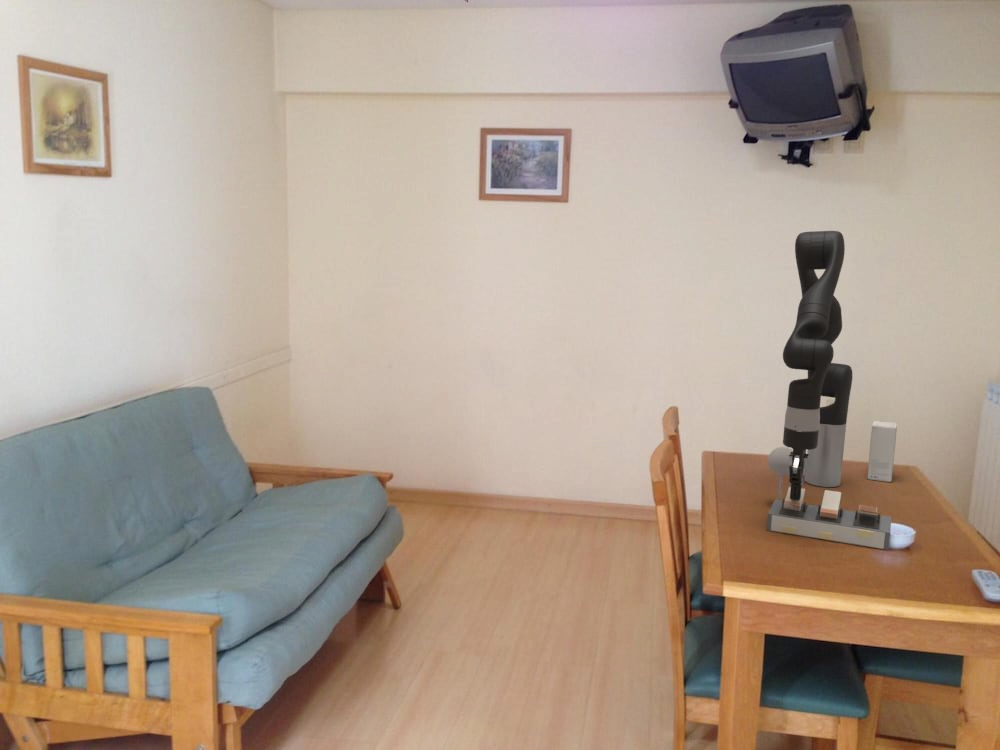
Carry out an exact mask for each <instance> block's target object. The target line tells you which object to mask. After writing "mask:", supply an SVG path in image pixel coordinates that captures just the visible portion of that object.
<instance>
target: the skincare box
mask: <svg viewBox="0 0 1000 750" xmlns="http://www.w3.org/2000/svg"><path fill="white" fill-rule="evenodd" d="M897 428H898V423H897V422H892V421H891V422H889V421H888V422H887V421H878V420H877V421H876V420H873V422H872V426H871V432H870V443H869V453H868V467H867V469H868V470H867V479H868V480H870V481H871V480H872V481H878V482H886V483H892V479H893V472H894V471H893V470H894V463H895V452H896V441H897V433H898V432H897V431H898V430H897Z"/></svg>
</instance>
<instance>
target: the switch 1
mask: <svg viewBox="0 0 1000 750" xmlns="http://www.w3.org/2000/svg"><path fill="white" fill-rule="evenodd" d="M790 491H791V486H789V487H788V490H787V493H786V495H785V502H784V508H785V509H792V510H798V511H800V509H801V505H802V504H803V503H804V499H805V495H806V488H802V487H801V498H800V500H791V499H790Z"/></svg>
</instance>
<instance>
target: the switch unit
mask: <svg viewBox="0 0 1000 750" xmlns="http://www.w3.org/2000/svg"><path fill="white" fill-rule="evenodd" d="M785 499H786V498H785ZM785 499H781V500H778V499H774V501H773V503H772V504H771V507H770V509H769V511H768V513H767V518H766V531H769V532H776V533H781V534H788V535H793V536H794V535H795V536H798V537H799V536H800V537H805V538H811V539H818V540H824V541H831V542H834V543H835V542H836V543H842V544H849V545H853V546H854V545H855V546H859V547H860V546H861V547H867V548H872V549H873V548H874V549H879V550H884V551H889V547H890V539H891V538H890V536H891V529H892V516H889V515H888V516H887V515H881V513H878V514H876V513H869V512H862V511H859V509H858V510H855V511H853V510H848V509H847V510H846V509H843V507H839V510H838V515H837V519H836V518H830V517H823V516H820V511H821V506H822V504H818V505H814V504H807V502H805V501H803V503H802V505H801V509H800V511H798V510H792V509H785V508H784V502H785Z"/></svg>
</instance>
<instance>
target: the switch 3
mask: <svg viewBox="0 0 1000 750" xmlns="http://www.w3.org/2000/svg"><path fill="white" fill-rule="evenodd" d="M858 507H859V508H858V512H862V513H868V514H875V515H878V514H877V512H878V506H874V505H873V506H872V505H866V504H859V506H858Z"/></svg>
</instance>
